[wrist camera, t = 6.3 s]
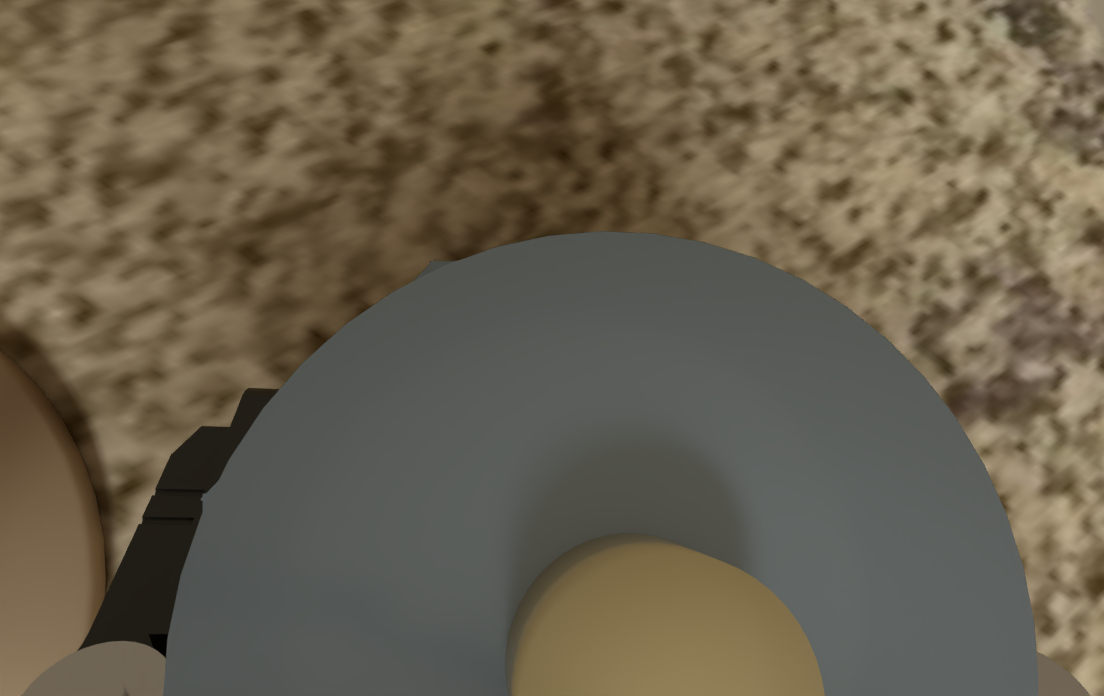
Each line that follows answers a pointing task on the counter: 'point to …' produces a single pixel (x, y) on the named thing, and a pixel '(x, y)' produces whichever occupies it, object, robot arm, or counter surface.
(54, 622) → the trivet
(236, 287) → the counter surface
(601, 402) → the octagonal knobbed canister
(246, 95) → the counter surface
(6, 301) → the counter surface
